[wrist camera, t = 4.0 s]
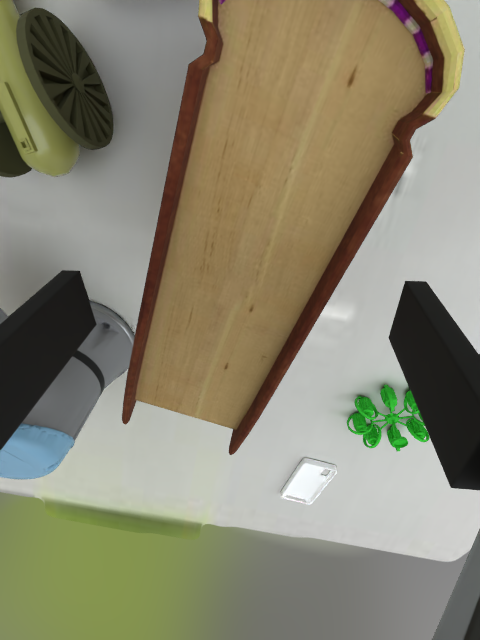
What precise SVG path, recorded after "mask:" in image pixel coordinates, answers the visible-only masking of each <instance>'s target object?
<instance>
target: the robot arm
mask: <svg viewBox="0 0 480 640" xmlns="http://www.w3.org/2000/svg"><path fill="white" fill-rule="evenodd" d="M134 338H135V337H134V334H133V332H132V330H131V329H130V327H129V326H128V325H127V323H126V322H125V321H124V320H123V319H122V318H121V317H120V316H118V315H117V314H116V313H115V312H113V311H112V310H110V309H108V308H106V307H104V306H102V305H100V304H97V303H94V302H91V301H89V299H88V296H87V292H86V289H85V286H84V283H83V280H82V277H81V273H80V271H66V270H62V271H61V272H60V273H59V274H58V275H56V276H55V277H54V278H53V279H52V280H51V281H50V282H48V283H47V284H46V285H45V286H44V287H43V288H41V289H40V290H39V291H38V292H37V293H36V294H34V295H33V296H32V297H31V298H30V299H29V300H27V301H26V302H25V303H24V304H23V305H22V306H21V307H19V308H18V309H17V310H16V311H15V312H14V313H12V314H11V315H10V316H9V317H8V316H7V315H6V314H5V312H4V311H3V310H2V309H1V308H0V477H4V478H10V479H34V478H39V477H42V476H45V475H47V474H49V473H51V472H52V471H54V470H55V469H56V468H57V467H58V466H59V464H60V463H61V461H62V460H63V459H64V457H65V456H66V454H67V453H68V451H69V450H70V448H72V447H73V445H74V442H75V439H76V438H77V436H78V434H79V432H80V431H81V429H82V427H83V425H84V423H85V422H86V420H87V418H88V416H89V415H90V413H91V411H92V409H93V407H94V406H95V404H96V402H97V400H98V399H99V397H100V395H101V393H102V392H103V390H104V388H106V387H107V386H108V385H109V384H110V383H111V382H112V381H113V380H115V379H116V378H117V377H119V376H120V375H122V374H123V373H124V372H125V371H126V370H127V369H128V368H129V364H130V359H131V353H132V348H133V343H134ZM389 340H390V342H391V345H392V347H393V349H394V352H395V354H396V357H397V359H398V362H399V364H400V366H401V369H402V371H403V374H404V376H405V378H406V381H407V383H408V386H409V388H410V390H411V393H412V395H413V398H414V400H415V402H416V405H417V407H418V410H419V412H420V414H421V417H422V419H423V422H424V424H425V426H426V429H427V431H428V434H429V436H430V438H431V441H432V443H433V446H434V448H435V450H436V453H437V455H438V458H439V460H440V462H441V465H442V467H443V470H444V472H445V474H446V477H447V479H448V482H449V484H450V486H451V488H459V489H471V490H480V354H478V353H477V352H476V350H475V349H474V347H473V346H472V345H471V343H470V342H469V341H468V339H467V338H466V336H465V335H464V334H463V332H462V331H461V329H460V328H459V327H458V325H457V324H456V322H455V321H454V320H453V318H452V317H451V316H450V314H449V313H448V311H447V310H446V309H445V307H444V306H443V304H442V303H441V302H440V300H439V299H438V297H437V296H436V295H435V293H434V292H433V291H432V289H431V288H430V286H429V285H428V284H427V282H420V281H405V284H404V287H403V291H402V294H401V297H400V301H399V304H398V308H397V311H396V314H395V318H394V321H393V325H392V328H391V331H390V335H389ZM432 640H480V529H479V532H478V534H477V536H476V539H475V541H474V543H473V546H472V548H471V550H470V553H469V555H468V557H467V560H466V562H465V564H464V567H463V569H462V572H461V574H460V576H459V578H458V581H457V583H456V585H455V588H454V590H453V592H452V595H451V597H450V599H449V601H448V604H447V606H446V609H445V611H444V613H443V615H442V618H441V620H440V622H439V625H438V627H437V629H436V632H435V634H434V636H433V639H432Z"/></svg>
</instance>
